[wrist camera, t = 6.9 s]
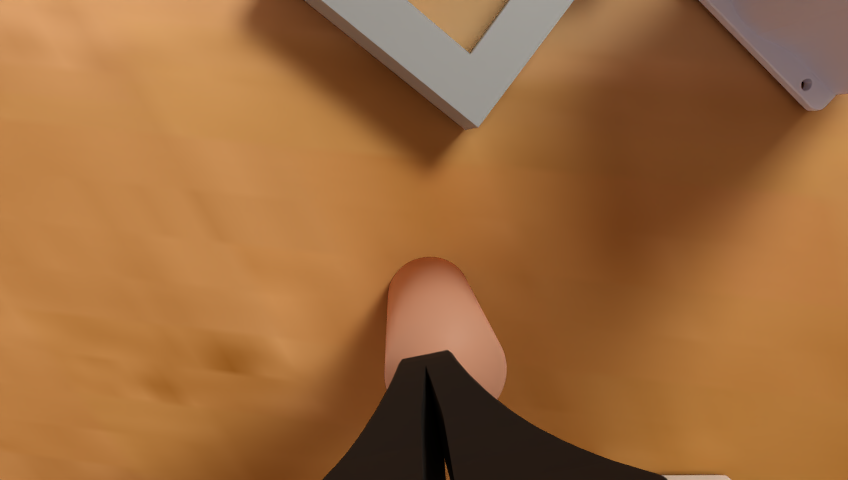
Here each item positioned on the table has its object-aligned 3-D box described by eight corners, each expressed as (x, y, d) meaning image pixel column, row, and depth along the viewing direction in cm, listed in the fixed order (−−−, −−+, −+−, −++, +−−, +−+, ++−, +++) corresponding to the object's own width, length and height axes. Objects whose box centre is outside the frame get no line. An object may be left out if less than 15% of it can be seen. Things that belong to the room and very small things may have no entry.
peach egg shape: (485, 287, 20) (531, 360, 14) (436, 348, 21) (456, 447, 14) (421, 240, 20) (434, 292, 13) (371, 305, 20) (359, 387, 13)
